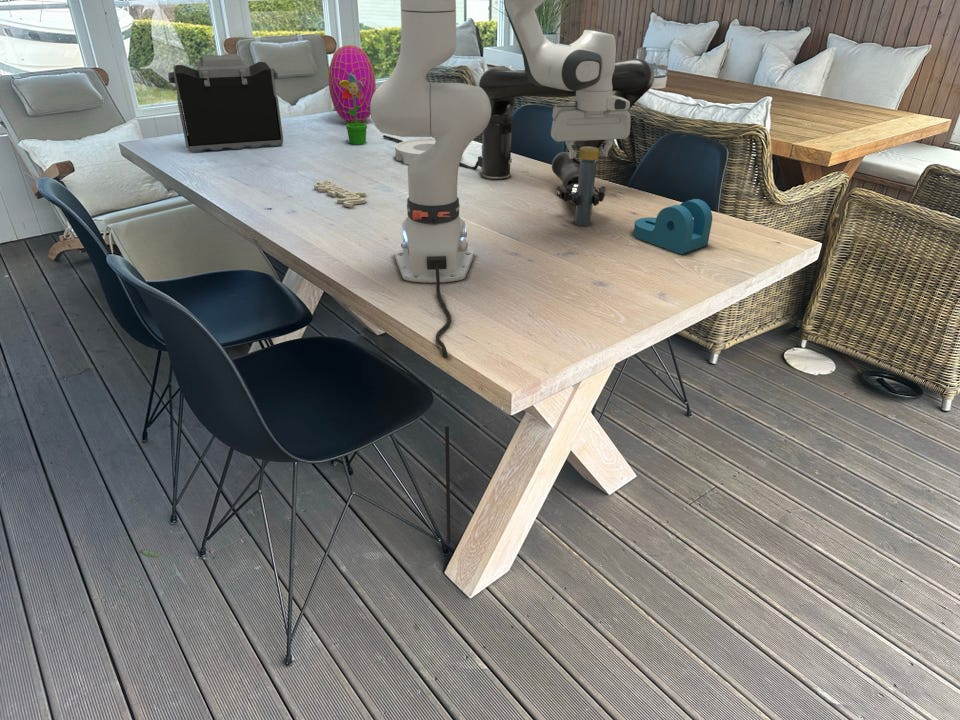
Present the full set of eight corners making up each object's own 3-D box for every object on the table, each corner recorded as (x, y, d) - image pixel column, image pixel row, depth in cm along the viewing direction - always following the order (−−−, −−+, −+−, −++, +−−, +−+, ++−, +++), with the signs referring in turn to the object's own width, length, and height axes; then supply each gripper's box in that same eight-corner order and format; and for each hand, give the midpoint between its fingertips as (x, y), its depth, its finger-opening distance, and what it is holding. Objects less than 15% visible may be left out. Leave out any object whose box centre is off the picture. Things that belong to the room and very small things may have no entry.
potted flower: (342, 144, 260) (336, 73, 247) (351, 139, 266) (346, 70, 254) (365, 146, 257) (360, 74, 245) (374, 141, 264) (369, 71, 251)
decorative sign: (378, 198, 199) (347, 205, 194) (378, 202, 199) (348, 208, 194) (336, 178, 217) (306, 183, 211) (336, 181, 217) (307, 186, 212)
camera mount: (707, 244, 172) (715, 204, 167) (681, 254, 167) (689, 212, 161) (650, 225, 184) (656, 186, 179) (624, 233, 179) (629, 194, 173)
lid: (598, 160, 175) (598, 151, 174) (578, 159, 175) (578, 150, 174) (598, 155, 179) (599, 147, 178) (579, 154, 180) (579, 146, 179)
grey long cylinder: (592, 225, 185) (599, 154, 175) (577, 226, 184) (583, 155, 174) (587, 220, 188) (594, 150, 179) (572, 220, 188) (578, 151, 178)
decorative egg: (362, 116, 305) (357, 42, 290) (386, 123, 292) (382, 46, 277) (324, 121, 294) (316, 45, 279) (347, 129, 281) (340, 49, 266)
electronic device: (280, 133, 274) (270, 51, 259) (288, 146, 256) (277, 59, 241) (182, 140, 262) (165, 54, 247) (183, 153, 245) (164, 62, 229)
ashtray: (454, 167, 232) (454, 155, 230) (388, 164, 235) (387, 152, 233) (466, 151, 252) (466, 140, 250) (404, 148, 255) (404, 137, 253)
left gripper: (557, 104, 166) (553, 162, 173) (636, 102, 170) (629, 158, 177) (549, 100, 171) (546, 156, 178) (626, 97, 175) (619, 152, 182)
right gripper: (552, 170, 193) (560, 188, 178) (603, 170, 193) (615, 188, 179) (551, 196, 197) (558, 216, 182) (600, 196, 197) (612, 216, 182)
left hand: (588, 157), depth 177 cm, fingers open, 7 cm apart
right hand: (586, 202), depth 180 cm, fingers closed on grey long cylinder, 4 cm apart
